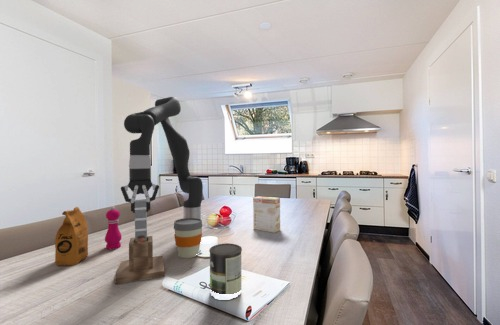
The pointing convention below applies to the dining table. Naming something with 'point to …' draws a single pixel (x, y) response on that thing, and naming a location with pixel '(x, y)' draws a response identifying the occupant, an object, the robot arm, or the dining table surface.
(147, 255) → the stand
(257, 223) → the coffeecake box
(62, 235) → the coffee package
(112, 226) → the pepper mill
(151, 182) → the robot arm
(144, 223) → the column
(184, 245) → the reusable coffee cup
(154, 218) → the dining table surface
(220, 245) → the coffee can
